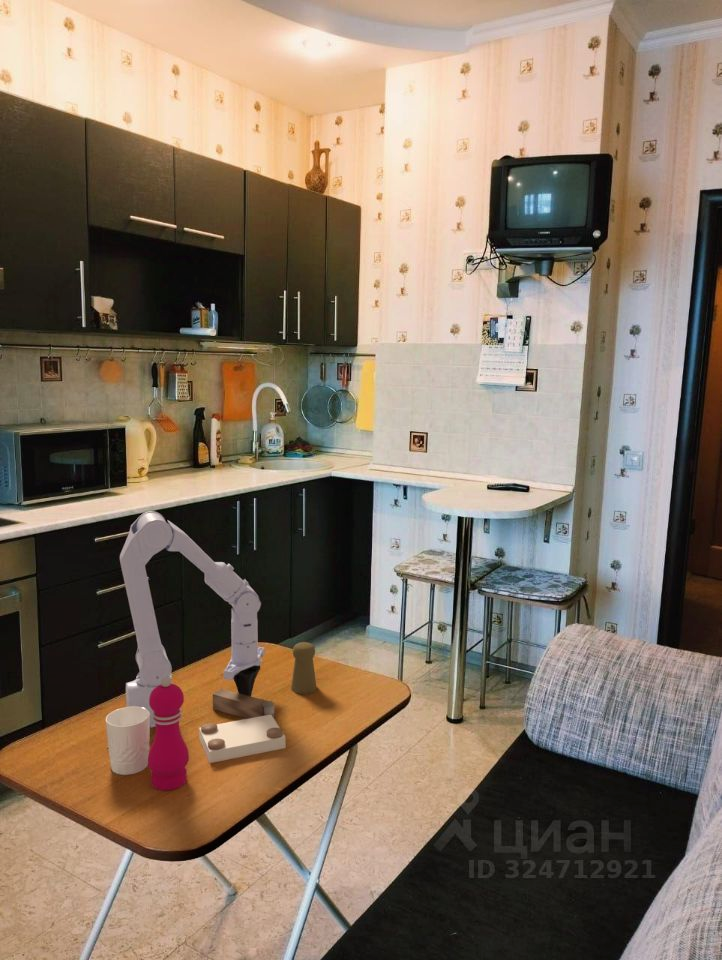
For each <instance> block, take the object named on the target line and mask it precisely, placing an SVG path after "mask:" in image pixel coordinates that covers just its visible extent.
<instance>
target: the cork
mask: <svg viewBox="0 0 722 960" xmlns="http://www.w3.org/2000/svg"><path fill="white" fill-rule="evenodd" d="M292 655H293V658H294V662H293V663H294V664H293V665H294V666H293V672H292V679H291V688H290V690H291V691H292V692H293V693H295V694H298V695H309V694H313V693H314V692H316V691H317V688H318V687H317V680H316V672H315V665H314V657H315V656H316V649H315V646H314V644H312V643H310V642H307V641H301V642H298V643H296V644H294V646H293V648H292Z"/></svg>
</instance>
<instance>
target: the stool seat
mask: <svg viewBox="0 0 722 960" xmlns="http://www.w3.org/2000/svg"><path fill="white" fill-rule="evenodd" d="M198 732H199V733H198V737H199V741H200V743H201V745H202V747H203V750H204V753H205V755H206V757H207V760H208V763H209V764H212V763H216V762H222V761H227V760H231V759H239V758H242V757H246V756H251V755H257V754H262V753H267V752H272V751H278V750H283V749H286V745H287V744H286V735H285V734H284V730H283V729H282V728H280V725H279V724H278V723H277V721H276V719H275V717H274V718H273V717H272V715H265V716H260V717H254V718H249V719H246V718H243V719H238V720H233V721H228V722H222V723H221V722H220V723H218V724H215V722H214V723H213V722H210V723H209V722H208V723H205V724H202V725H201V726H200V727H198Z"/></svg>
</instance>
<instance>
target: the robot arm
mask: <svg viewBox="0 0 722 960" xmlns="http://www.w3.org/2000/svg"><path fill="white" fill-rule="evenodd" d="M125 539H126V540H125V543H124V544H123V547H122V549H121V552H120V554H119V562H120V568H121V572H122V577H123V581H124V582H123V583H124V585H125V590H126V596H127V599H128V605H129V610H130V614H131V618H132V624H133V628H134V633H135V636H136V642H137V650H136V653H135V661H136V664H137V666H138V669H139V672H138V673H137V674H136V678H135V679H134V680H132V681H129V682H126V683H125V701H126V702H125V703H126V704H125V705H126V706H125V707H142V708H145V709H147V710H148V711H149V712H150V728H151V729H152V728H156V725H155V723H154V722H153V715H152V714H153V710H152V709H151V707H150V705H149V697H150V694H151V692H152V691H153V689H154V688H156V687H157V686H159V685H161V680H162V678H164V677H169V678H170V679H171V684H173V681H172V679H173V678H172V671H173V668H172V664H171V661H170V660H169V658H168V656H167V651H166V649H165V647H164V646H163V644H162V641H161V637H160V632H159V629H158V627H159V626H158V623H157V622H158V621H157V618H156V613H155V609H154V603H153V598H152V593H151V589H150V584H149V580H148V575H147V570H146V565H147V564H148V563H149V561H150V560H151V558H152V557H153V556H154V555H156V554H158V553H159V552H161V551H162V550H164V549H165V550H166V551H168V552H179V553H180V554H182V555H183V556H184V557H185V558H186V559H187V560H188V561H190V563H192V564H193V565H194V566H196V567H197V569H199V570H200V571H201V572H202V573H203V574H204V582H205V584H206V585H207V586H208V587H209V588H210V589H212V590H213V591H214V592H215V593H216V594H217V595H218V596H219V597H221V598H222V599H223V600H224V601H225V602H228V604H229V605H231V607H232V608H231V620H230V622H231V624H230V626H231V627H230V629H231V632H230V633H231V637H230V639H231V640H230V641H231V645H230V646H231V649H230V650H231V658H230V659H229V662H228V663H227V666H226V668H225V669H223V673H222V674H223V679H224V680H227V681H234V683H235V686H236V689H237V693H239V694H243V695H247V696H251V697H252V693H253V689H254V685H255V681H256V679H257V676H258V674H259V672H260V671H261V665H262V663H263V659H261V658H263V657H264V656H265V647H263V646H262V647H261V646H258V645H259V642H258V641H259V640H258V638H259V637H258V635H259V634H258V632H259V630H258V625H259V624H258V622H259V620H258V612H259V611H260V609H261V605H262V602H261V600H260V597H259V595H258V594H257V592H256V591H255V590H254V588H252V587H251V585H250V584H249V581H247V580H246V578H244V579H242V578H241V577H240V576H239V575H238V574H237V573H236V572H235V571H234V570H235V568H234V567H233V565H231V564H230V563H227V564H226V563H225V562H223V561H214V560H213V559H212V558H211V556H209V555H208V554H207V553H205V551H203V549H202V548H201V547H200V546H199V545H198V544H197V543H196V542H195V541H194V540H193V539H192V538H190V536H189V535H188V534H187V533H185V531H183V530H182V529H181V528H179V527H178V526H177V525H176V524H174V523H173V522H172V521H170V520H168V519H167V522H166V519H165V517H164V516H163V515H162V514H161V513H159V512H157V511H153V510H152V511H150V510H149V511H146V512H143V513H141V515H139V516H138V517H137V519H136V520H135V521H134V522H133V523H132V524H131V525H130V528H129V532H128V535H127V537H126V538H125Z"/></svg>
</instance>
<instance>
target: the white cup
mask: <svg viewBox="0 0 722 960" xmlns="http://www.w3.org/2000/svg"><path fill="white" fill-rule="evenodd" d="M105 726H106V727H105V728H106V737H107V738H106V739H107V747H108V755H109V761H110V768H111V771H112V772H113V773H114V774H117V775H121V776H129V775H135V774H137V773H140V772H142V771H144V770H145V769H147V767H148V755H149V751H150V741H151V740H150V735H151V734H150V732H151V730H150V712H149V711H148V710H147V709H145V708H142V707H126V706H125V707H121V708H117V709H115V710H113V711H110V713H108V714H107V715H106V717H105Z"/></svg>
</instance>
